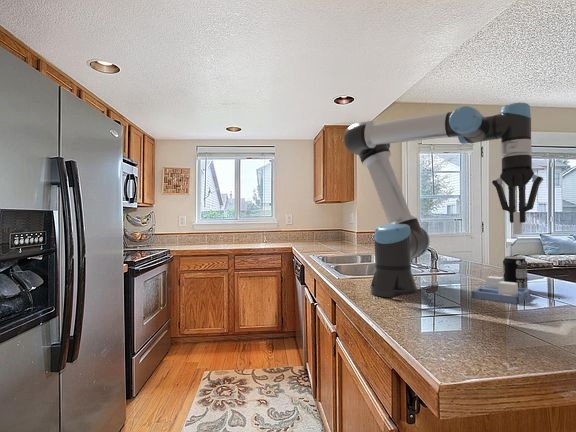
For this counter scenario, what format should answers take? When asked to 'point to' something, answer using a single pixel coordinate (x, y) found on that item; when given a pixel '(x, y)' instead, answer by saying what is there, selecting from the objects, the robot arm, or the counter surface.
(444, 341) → the counter surface
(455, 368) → the counter surface
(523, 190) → the robot arm
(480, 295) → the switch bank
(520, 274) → the beverage can
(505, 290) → the white block
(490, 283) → the tab far
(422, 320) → the counter surface
